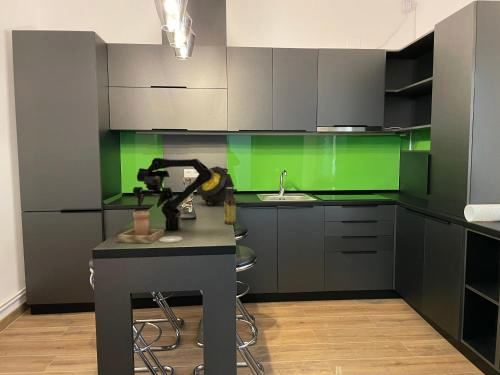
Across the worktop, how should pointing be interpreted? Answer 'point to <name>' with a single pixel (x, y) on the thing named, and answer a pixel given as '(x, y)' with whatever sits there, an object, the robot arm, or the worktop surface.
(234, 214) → the sauce bottle
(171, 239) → the ceramic saucer
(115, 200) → the worktop surface
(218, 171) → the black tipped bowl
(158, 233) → the pine frame
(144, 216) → the terracotta pot
